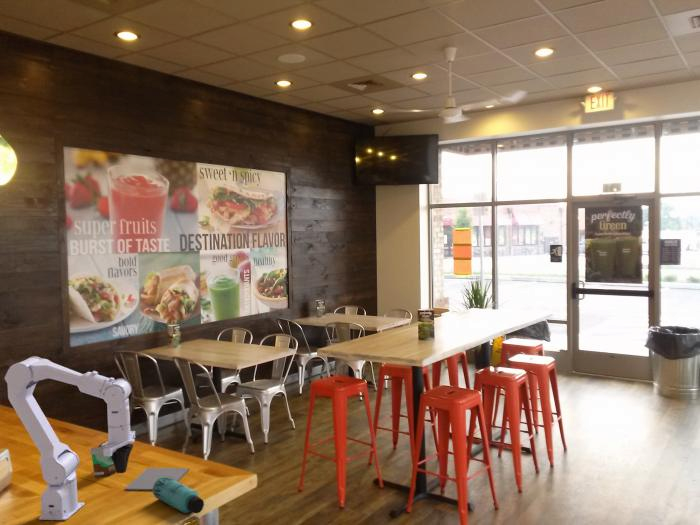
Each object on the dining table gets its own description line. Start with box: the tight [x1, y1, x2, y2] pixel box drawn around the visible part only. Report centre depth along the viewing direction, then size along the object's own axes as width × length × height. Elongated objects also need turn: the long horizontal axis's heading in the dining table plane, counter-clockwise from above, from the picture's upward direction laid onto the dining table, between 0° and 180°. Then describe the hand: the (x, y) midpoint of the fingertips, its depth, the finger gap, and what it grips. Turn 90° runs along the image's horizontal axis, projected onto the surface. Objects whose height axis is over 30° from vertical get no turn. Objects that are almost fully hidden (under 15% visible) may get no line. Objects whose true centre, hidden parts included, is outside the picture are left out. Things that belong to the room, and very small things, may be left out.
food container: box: [89, 439, 117, 478], centre depth 192 cm, size 12×6×10 cm, turn 168°
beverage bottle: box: [152, 476, 205, 514], centre depth 166 cm, size 6×7×20 cm
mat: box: [124, 467, 190, 491], centre depth 185 cm, size 16×14×1 cm
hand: (121, 472), depth 166 cm, fingers closed
